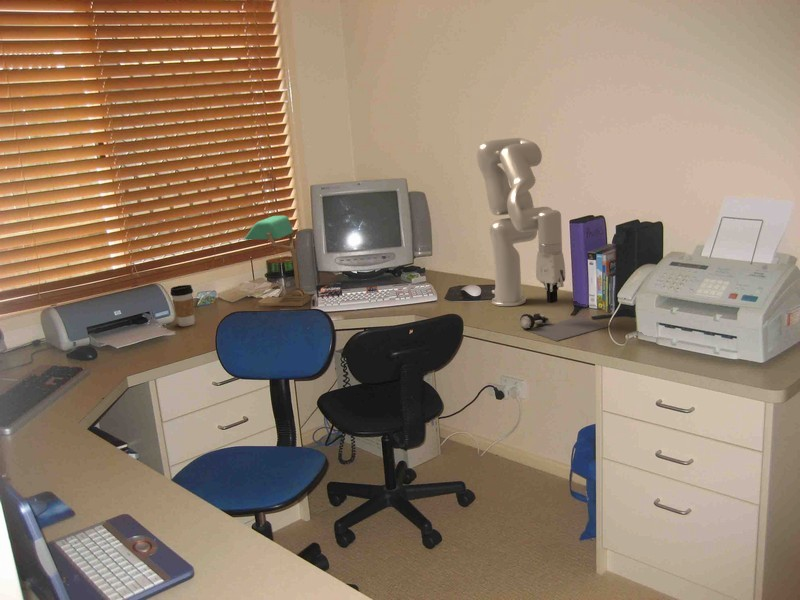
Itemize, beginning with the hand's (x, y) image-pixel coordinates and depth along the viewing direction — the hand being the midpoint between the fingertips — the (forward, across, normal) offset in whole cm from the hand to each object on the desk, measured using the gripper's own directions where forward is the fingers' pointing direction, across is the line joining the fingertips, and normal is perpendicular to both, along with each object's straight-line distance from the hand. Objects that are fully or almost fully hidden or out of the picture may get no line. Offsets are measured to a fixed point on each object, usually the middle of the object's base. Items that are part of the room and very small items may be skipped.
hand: (552, 301), depth 260 cm
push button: (+6, -2, -1) cm, 7 cm away
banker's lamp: (+8, -98, -59) cm, 115 cm away
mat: (+8, +8, 0) cm, 11 cm away
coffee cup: (+8, -97, -99) cm, 139 cm away
